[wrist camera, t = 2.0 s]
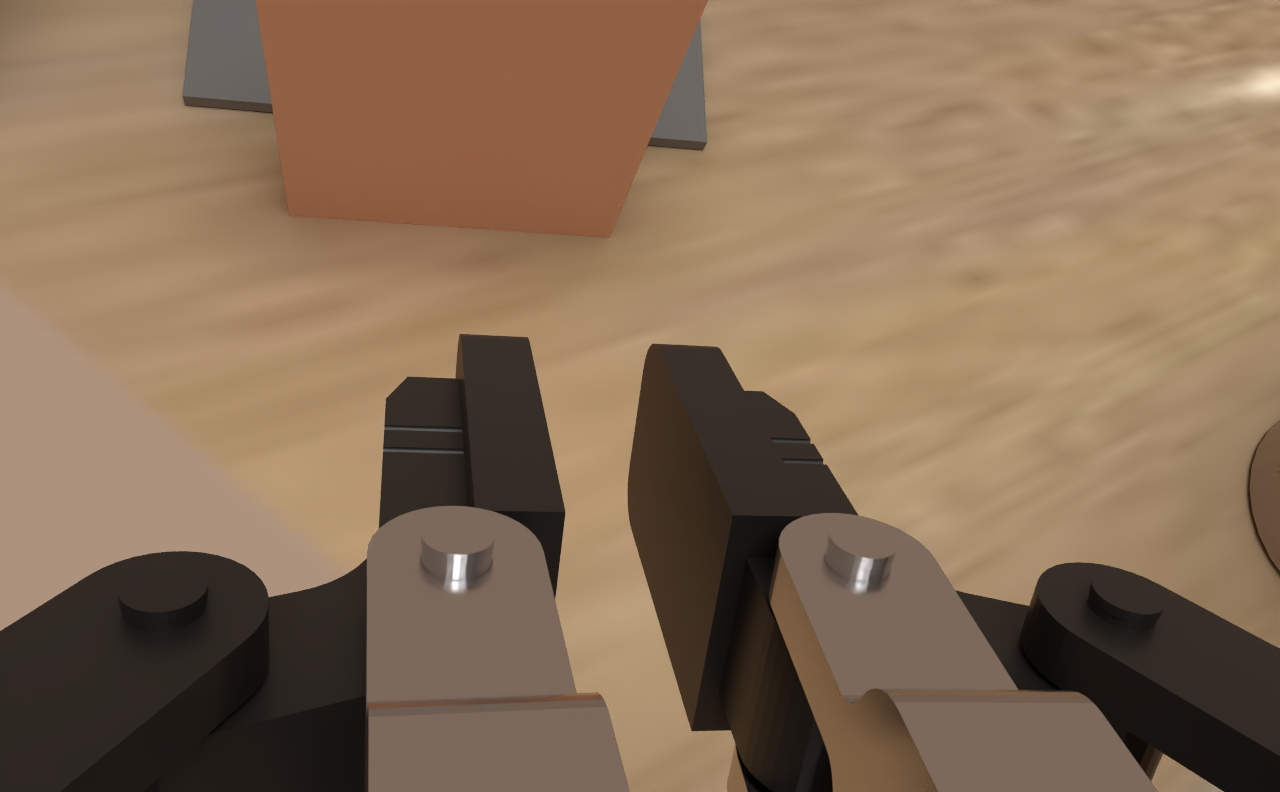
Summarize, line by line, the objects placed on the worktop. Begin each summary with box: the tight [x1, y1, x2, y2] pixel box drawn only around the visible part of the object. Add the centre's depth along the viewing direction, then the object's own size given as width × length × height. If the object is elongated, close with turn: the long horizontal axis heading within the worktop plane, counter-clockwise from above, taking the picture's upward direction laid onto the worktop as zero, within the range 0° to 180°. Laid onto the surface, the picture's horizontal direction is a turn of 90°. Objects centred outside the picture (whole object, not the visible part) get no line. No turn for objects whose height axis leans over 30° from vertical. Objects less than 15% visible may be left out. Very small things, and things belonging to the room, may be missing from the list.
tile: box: [256, 0, 708, 238], centre depth 37 cm, size 12×3×16 cm, turn 92°
